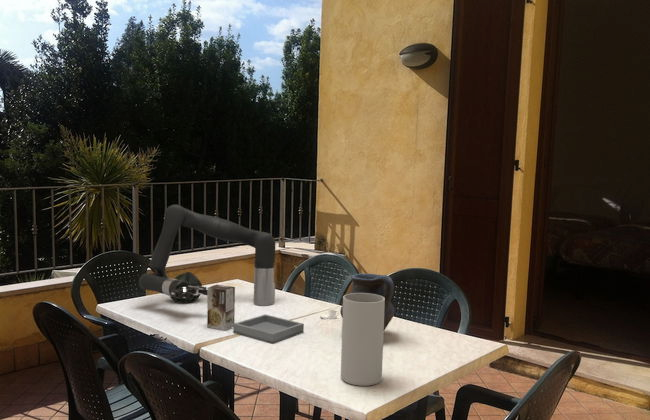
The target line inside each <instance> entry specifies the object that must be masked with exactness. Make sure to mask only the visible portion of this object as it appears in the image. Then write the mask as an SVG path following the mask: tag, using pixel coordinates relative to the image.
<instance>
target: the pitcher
mask: <svg viewBox="0 0 650 420" xmlns="http://www.w3.org/2000/svg"><path fill="white" fill-rule="evenodd" d="M350 279H351V281H352V287H351V290H350V292H349V294H351V293H370V294H376V295H380V296H382V297H384V298H385V308H384V332H385V330H386V329H387V328H388V326H389V324H390V323H391V321H392V319H393V318H394V315H395V312H396V311H395V307H394V305H393V304H392V302H391V300H392V298H393V295H394V292H395V283H394V281H393V279H392V278H391V276H389V275H387V274H377V273H375V274H374V273H355V274H353V275H351V277H350ZM339 314H340V316H341V318H343V304H342V305H341V307H340V312H339Z"/></svg>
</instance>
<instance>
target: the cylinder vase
mask: <svg viewBox="0 0 650 420" xmlns="http://www.w3.org/2000/svg"><path fill="white" fill-rule="evenodd" d="M342 305H343V318H342V317H341V318H342V319H341V320H342V321H341V323H342V324H341V350H340V351H341V352H340V354H341V355H340V377H341V379H342V380H343V382H345V383H347V384H349V385H352V386H353V385H354V386H358V387H368V386H373V385H374V386H375V385H377V384H379V383H380V382H381V381H382V379H383V359H384V357H383V356H384V355H383V353H384V332H385V331H384V308H385V298H384V297H382V296H380V295H376V294H370V293H351V294H350V293H348V294H345V295H343V296H342Z"/></svg>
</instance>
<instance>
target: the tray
mask: <svg viewBox="0 0 650 420" xmlns="http://www.w3.org/2000/svg"><path fill="white" fill-rule="evenodd" d="M304 326H305V324H304V322H298V321H294V320H292V319H291V320H289V319H286V318H282V317H277V316H273V315H269V314H262V315H258V316H255V317H252V318H249V319H245V320H241V321H238V322H234V324H233V328H232V329H233V331H232V332H234V333H233V334H236V333H237V334H236V335H239V336H244V337H248V338H250V339H254V340H258V341H262V342H265V343H268V344H272V345H273V344H275V343H276V344H277V343H279V342H282V341H284V340H287V339H290V338H292V337H295V336H297V335H298V336H299V335H301V334H304V331H305V329H304Z"/></svg>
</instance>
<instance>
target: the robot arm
mask: <svg viewBox="0 0 650 420" xmlns="http://www.w3.org/2000/svg"><path fill="white" fill-rule="evenodd" d="M181 227H185V228H186V227H187V228H190V229H193V230H196V231H198V232H200V233H202V234H204V235H207V236H209V237H212V238H215V239H219V240H222V241H226V242H231V243H240V244H244V245H246V246H249V247H252V248H254V250H255V251H254V253H255V254H254V264H253V265H254V266H253V268H254V270H253V271H254V272H253V305H256V306H262V307H263V306H264V307H265V306H272V305H273V304H274V303H276V302H275V301H276V299H275V298H276V283H275V262H276V240H275V238H274V237H273V236H272V234H271V233H269V232H266V231H265V232H264V231H260V230H255V229H251V228H247V227H244V226H243V225H241V224H237V223H235V222H232V221H230V220H228V219H224V218H221V217H218V216H212V215H208V214H202V213H197V212H196V211H192V210H190V209H188V208H186V207H183V206H181V205H180V204H171V205H169V206H168V207H167V208H166V209H165V210H164V219H163V225H162V230H161V233H160V235H159V238H158V241H157V242H156V245H155V248H154V250H153V253H152V256H151V257H150V261H149V267H150V269H152V270H154V273H153V274H152V273H150V272H149V273H144V274H141V276H140V277H139V280H138V283H139V286H140V288H141V289H143V290H145V291H146V290H147V291H153V292H155V293H156V292H157V293H160V294H162V295H166V296H168V297H170V296H171V297H175V298H179V299H182V298H189V299H193V295H198V294H201V295H203V296H207V288H208V287H207V286H203V285H202V286H198V285H197V286H196V287H194V286H189V285H188V283H187V282H185V281H182V280H177V279H174V278H171V277H166V267H167V265H168V262H169V258H170V256H171V252H172V249H173V245H174V242H175V238H176V236H177V233H178V231H179V230H180V228H181ZM195 290H196V293H195ZM171 297H170V298H171Z"/></svg>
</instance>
